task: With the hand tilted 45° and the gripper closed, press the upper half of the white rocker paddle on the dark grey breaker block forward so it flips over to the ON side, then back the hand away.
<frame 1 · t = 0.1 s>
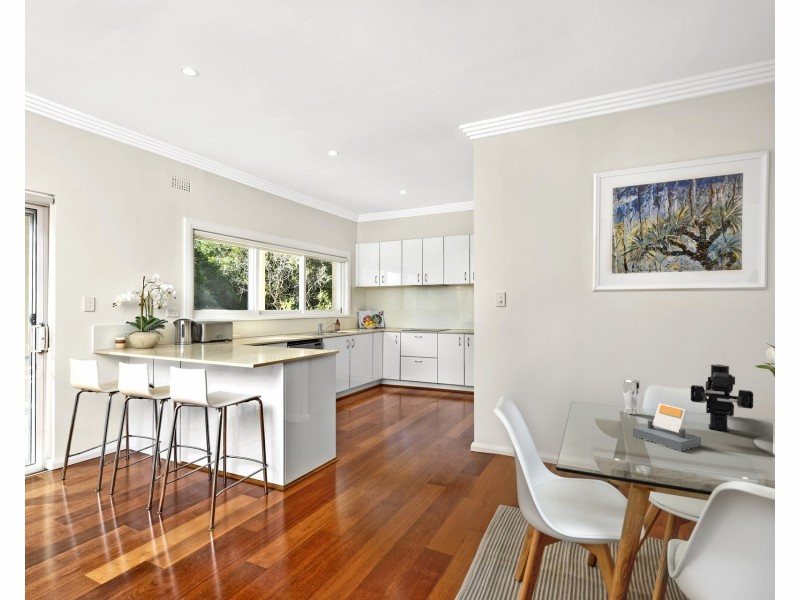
hand: (721, 401, 154), 17 cm above the table, tool horizontal, fingers open, 9 cm apart
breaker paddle: (669, 417, 162), point 8 cm above the table, hinge at -27.0°
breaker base: (665, 440, 161), on the table
beer glass: (631, 413, 197), on the table
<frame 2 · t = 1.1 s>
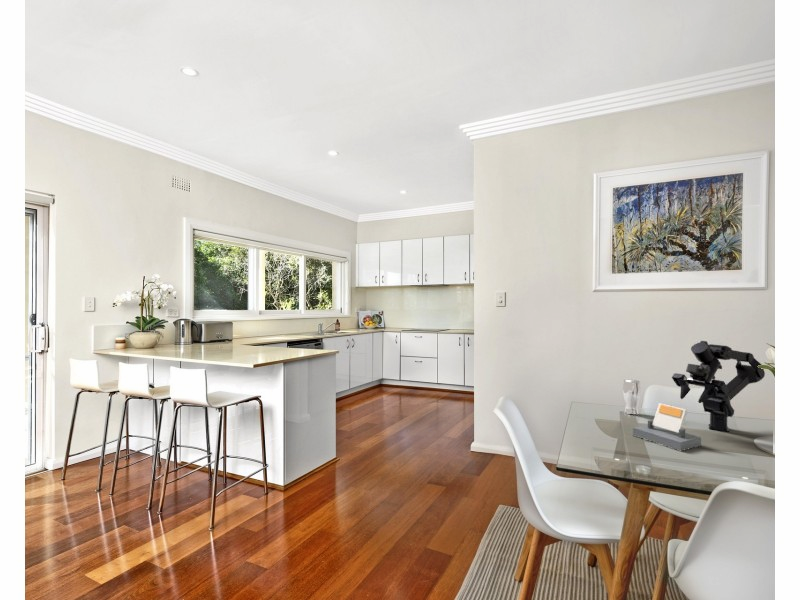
hand: (690, 400, 167), 14 cm above the table, tool tilted 45°, fingers open, 6 cm apart
nothing on the table moved.
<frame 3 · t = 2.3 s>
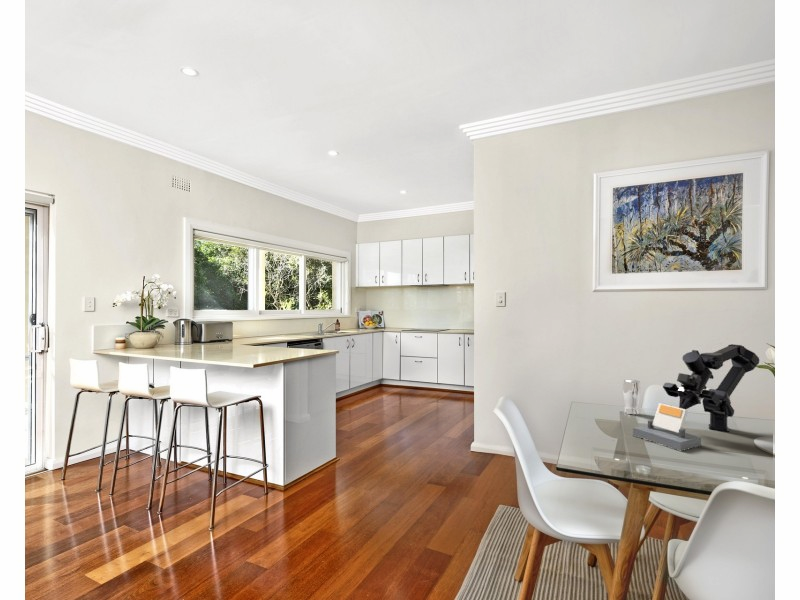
hand: (680, 410, 165), 10 cm above the table, tool tilted 45°, fingers closed
nothing on the table moved.
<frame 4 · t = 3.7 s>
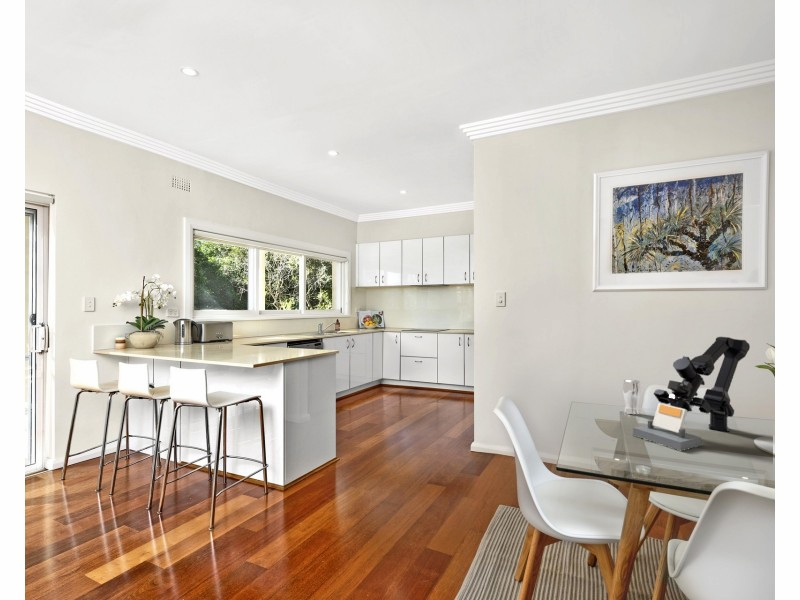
hand: (671, 418, 162), 8 cm above the table, tool tilted 45°, fingers closed, pressing on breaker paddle
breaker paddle: (669, 417, 162), point 8 cm above the table, hinge at -25.0°, touching gripper
everything else where it was.
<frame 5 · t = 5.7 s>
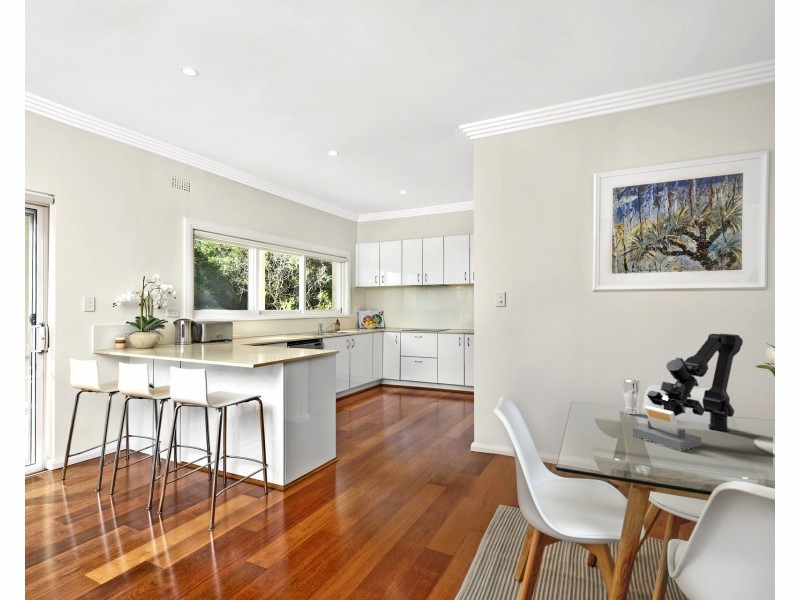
hand: (664, 420, 160), 8 cm above the table, tool tilted 45°, fingers closed
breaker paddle: (661, 419, 160), point 8 cm above the table, hinge at 27.9°
everything else where it was.
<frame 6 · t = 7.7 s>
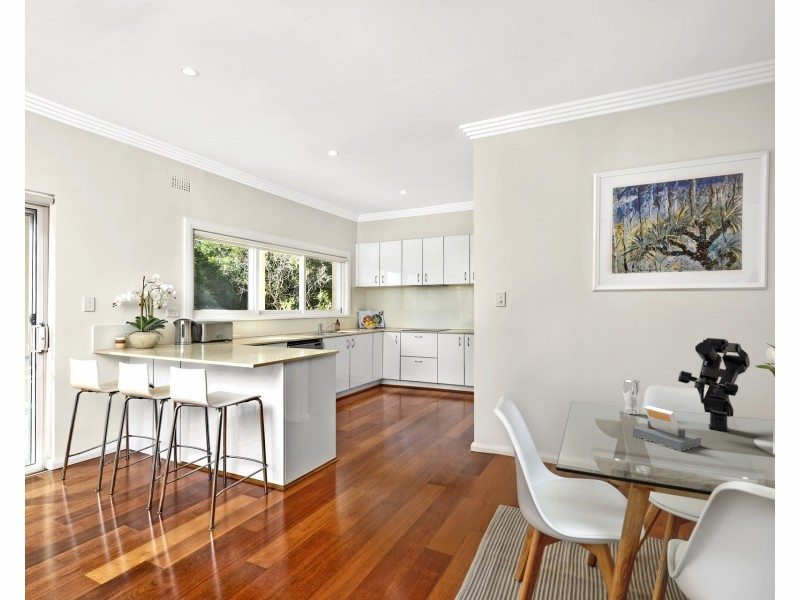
hand: (702, 403, 164), 13 cm above the table, tool tilted 35°, fingers closed
nothing on the table moved.
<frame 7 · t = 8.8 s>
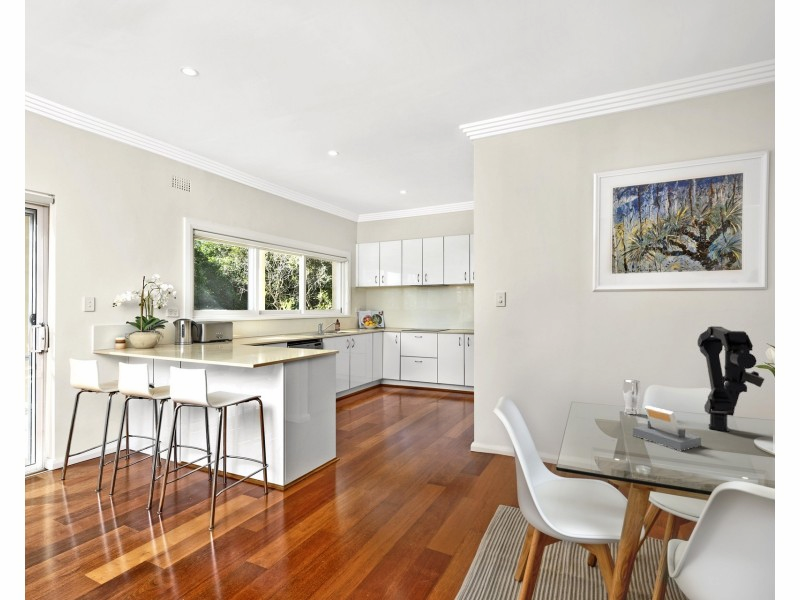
hand: (734, 405, 161), 13 cm above the table, tool pointing down, fingers closed
nothing on the table moved.
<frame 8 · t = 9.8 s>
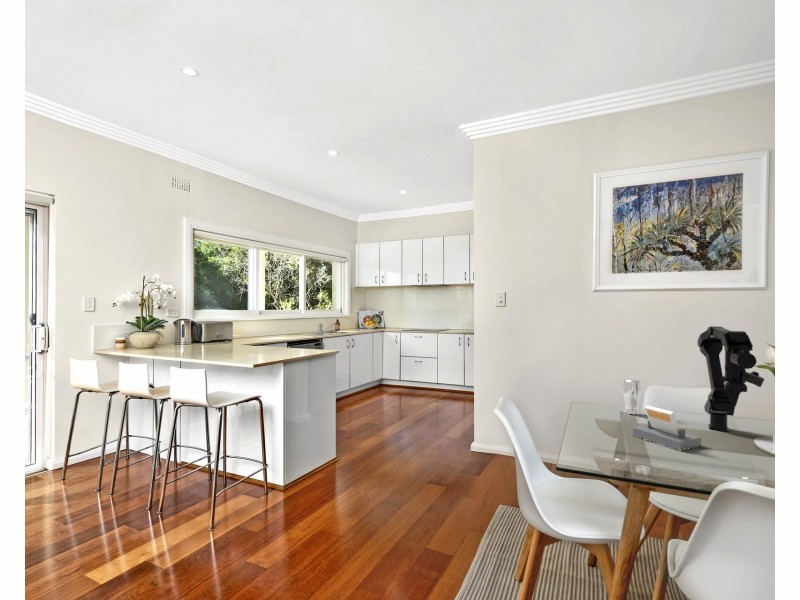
hand: (734, 405, 161), 13 cm above the table, tool pointing down, fingers closed
nothing on the table moved.
at the end: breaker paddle at +28° (first picture: -27°); beer glass moved 0.2 cm from its start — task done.
